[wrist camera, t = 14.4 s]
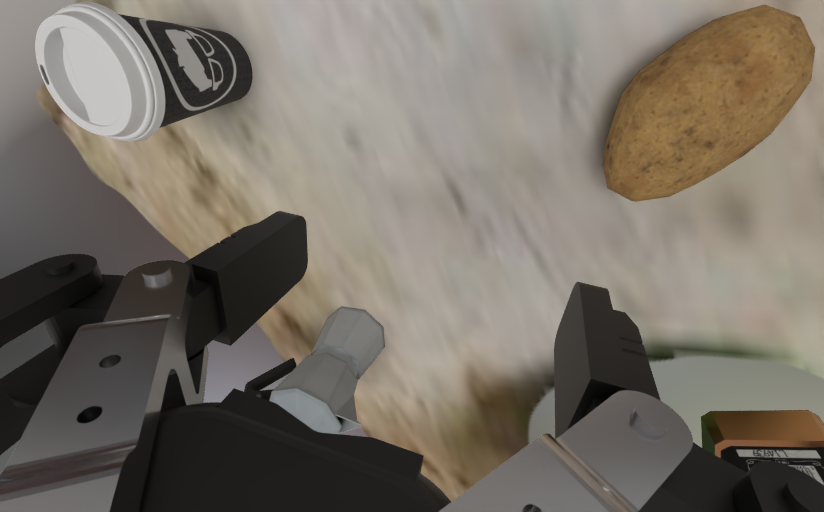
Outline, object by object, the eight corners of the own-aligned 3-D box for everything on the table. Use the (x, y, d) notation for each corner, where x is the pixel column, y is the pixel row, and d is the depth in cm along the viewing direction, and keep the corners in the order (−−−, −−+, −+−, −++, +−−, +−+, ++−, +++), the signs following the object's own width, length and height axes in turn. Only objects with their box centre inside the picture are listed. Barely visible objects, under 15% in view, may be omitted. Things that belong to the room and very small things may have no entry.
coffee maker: (399, 312, 50) (339, 432, 35) (401, 364, 54) (349, 491, 39) (294, 297, 53) (199, 399, 38) (304, 346, 58) (222, 456, 42)
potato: (562, 143, 35) (569, 167, 29) (704, -20, 28) (759, -39, 21) (646, 206, 36) (672, 244, 29) (807, 63, 28) (892, 70, 22)
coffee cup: (189, -7, 38) (16, -30, 25) (275, 43, 38) (145, 44, 25) (179, 88, 43) (31, 108, 30) (255, 131, 43) (138, 170, 30)
